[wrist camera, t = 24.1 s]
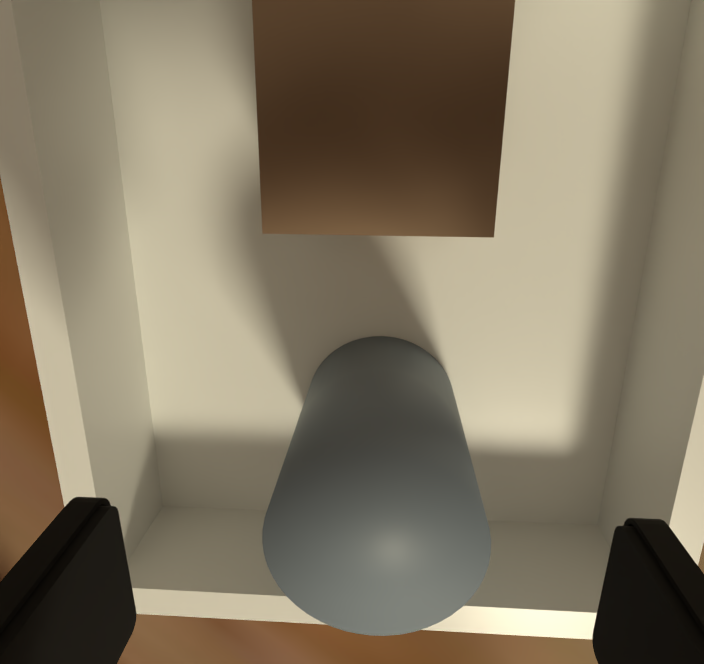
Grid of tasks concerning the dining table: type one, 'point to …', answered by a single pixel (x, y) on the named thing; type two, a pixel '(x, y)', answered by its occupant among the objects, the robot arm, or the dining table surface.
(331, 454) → the slate capsule
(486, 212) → the walnut cube
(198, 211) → the tote
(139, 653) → the dining table surface
